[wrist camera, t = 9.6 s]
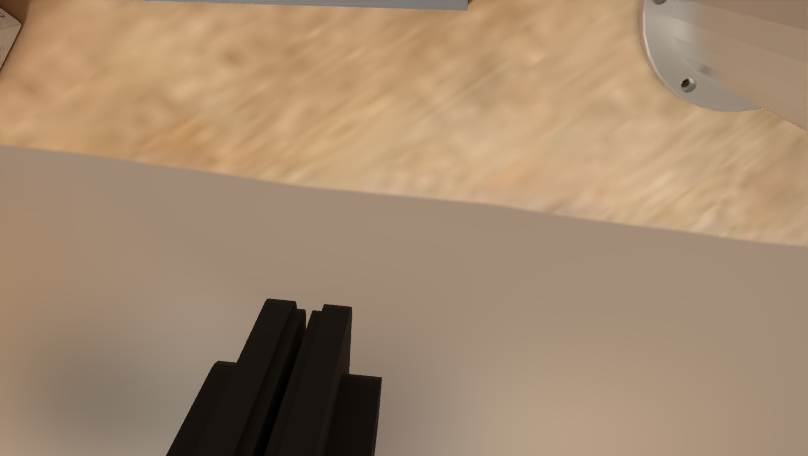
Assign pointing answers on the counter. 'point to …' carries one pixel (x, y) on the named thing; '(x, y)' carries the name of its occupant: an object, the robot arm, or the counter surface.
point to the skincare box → (7, 33)
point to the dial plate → (354, 3)
